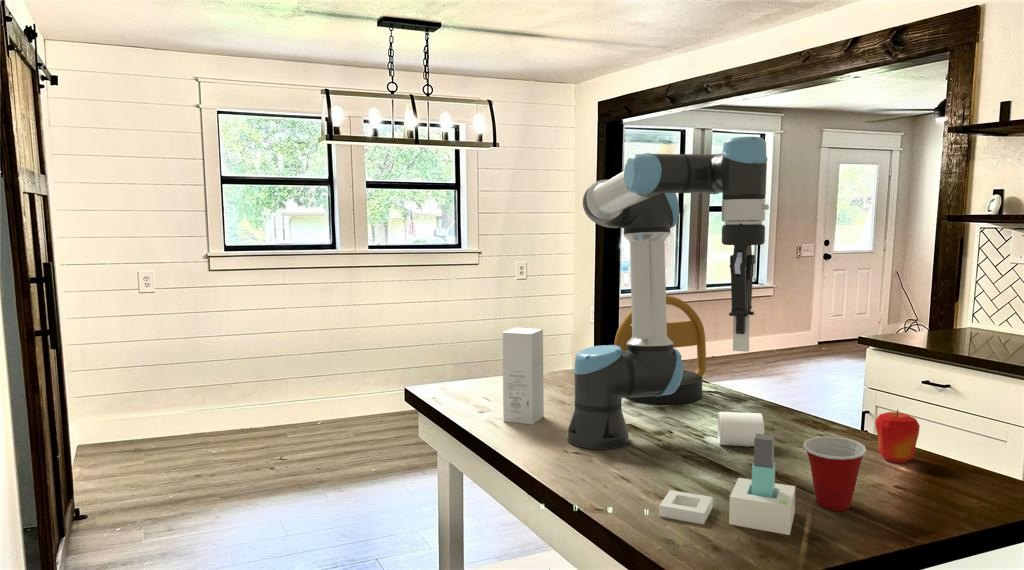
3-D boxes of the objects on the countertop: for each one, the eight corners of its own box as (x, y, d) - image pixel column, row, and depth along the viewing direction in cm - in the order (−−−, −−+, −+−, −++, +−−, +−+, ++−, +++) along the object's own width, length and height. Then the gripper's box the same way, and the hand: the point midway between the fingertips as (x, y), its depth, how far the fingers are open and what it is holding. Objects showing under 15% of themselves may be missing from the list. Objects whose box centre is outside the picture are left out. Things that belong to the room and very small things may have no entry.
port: (729, 529, 122) (729, 494, 122) (737, 508, 131) (738, 476, 130) (789, 540, 118) (790, 504, 117) (794, 517, 127) (795, 484, 126)
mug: (763, 451, 163) (764, 418, 163) (720, 449, 165) (720, 416, 165) (756, 436, 175) (757, 405, 174) (715, 434, 177) (716, 403, 176)
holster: (659, 521, 126) (659, 505, 125) (669, 505, 133) (670, 490, 133) (703, 529, 122) (704, 513, 122) (712, 512, 129) (712, 497, 129)
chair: (593, 392, 221) (593, 294, 218) (682, 381, 235) (683, 289, 232) (637, 411, 199) (638, 302, 196) (732, 397, 213) (734, 296, 210)
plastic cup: (790, 503, 133) (791, 442, 132) (821, 490, 139) (823, 432, 138) (844, 522, 124) (846, 458, 123) (875, 508, 130) (877, 446, 129)
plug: (751, 514, 123) (752, 438, 122) (753, 507, 126) (755, 433, 125) (771, 518, 122) (773, 441, 121) (774, 510, 125) (775, 435, 124)
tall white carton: (544, 416, 195) (543, 328, 192) (533, 425, 186) (532, 333, 184) (515, 413, 198) (514, 327, 196) (503, 421, 190) (502, 332, 187)
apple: (925, 462, 155) (928, 410, 154) (902, 468, 151) (904, 415, 150) (889, 451, 162) (891, 401, 161) (866, 456, 159) (868, 406, 158)
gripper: (760, 223, 119) (757, 358, 121) (769, 222, 130) (766, 346, 132) (715, 223, 122) (713, 355, 124) (728, 223, 134) (726, 343, 136)
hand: (740, 350), depth 128 cm, fingers closed
